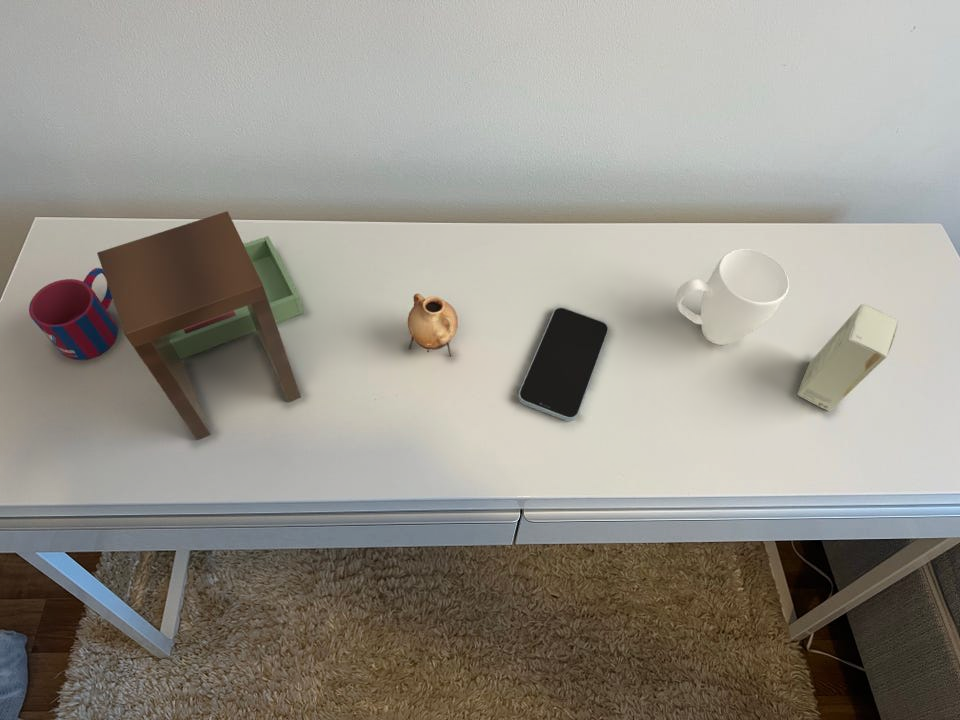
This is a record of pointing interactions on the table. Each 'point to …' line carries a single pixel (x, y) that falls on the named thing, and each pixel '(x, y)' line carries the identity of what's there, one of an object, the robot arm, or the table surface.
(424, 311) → the pot
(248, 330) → the tray
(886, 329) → the cosmetic box
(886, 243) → the table surface
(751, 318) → the mug
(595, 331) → the smartphone
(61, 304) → the cup
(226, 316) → the eraser
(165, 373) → the walnut stand
